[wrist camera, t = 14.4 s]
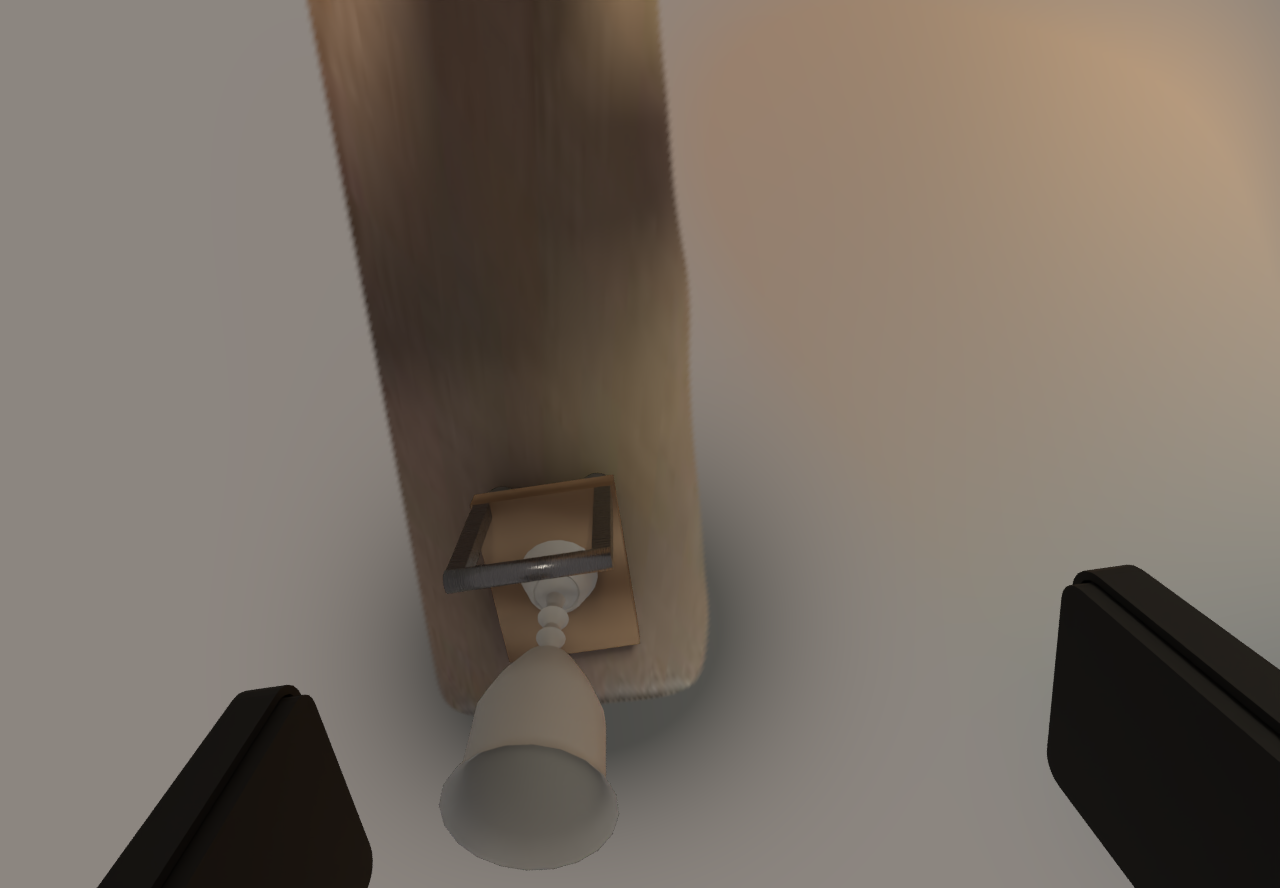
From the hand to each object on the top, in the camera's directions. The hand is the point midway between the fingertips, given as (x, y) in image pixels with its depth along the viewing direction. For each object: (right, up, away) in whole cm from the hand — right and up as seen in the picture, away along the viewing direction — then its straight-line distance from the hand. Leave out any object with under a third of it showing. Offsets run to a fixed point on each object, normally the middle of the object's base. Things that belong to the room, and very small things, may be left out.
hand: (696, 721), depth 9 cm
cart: (-6, -4, +40) cm, 41 cm away
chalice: (-6, -5, +36) cm, 37 cm away
